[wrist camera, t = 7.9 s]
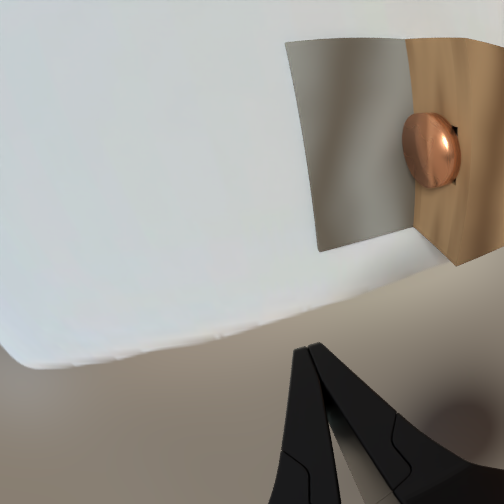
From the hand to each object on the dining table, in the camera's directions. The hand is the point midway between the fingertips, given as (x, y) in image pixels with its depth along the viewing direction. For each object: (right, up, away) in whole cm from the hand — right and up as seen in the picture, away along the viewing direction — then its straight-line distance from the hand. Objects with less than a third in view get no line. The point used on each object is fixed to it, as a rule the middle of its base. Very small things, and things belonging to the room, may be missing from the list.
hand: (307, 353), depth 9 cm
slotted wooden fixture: (+10, +11, +9) cm, 18 cm away
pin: (+13, +11, +8) cm, 19 cm away
